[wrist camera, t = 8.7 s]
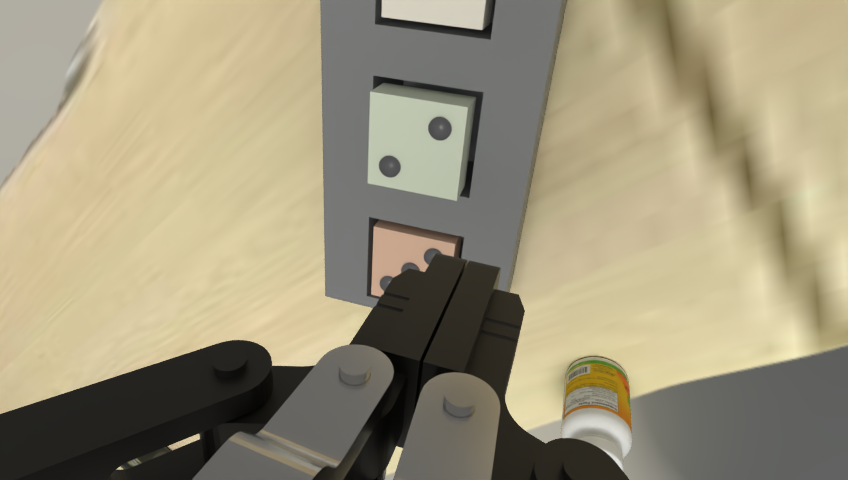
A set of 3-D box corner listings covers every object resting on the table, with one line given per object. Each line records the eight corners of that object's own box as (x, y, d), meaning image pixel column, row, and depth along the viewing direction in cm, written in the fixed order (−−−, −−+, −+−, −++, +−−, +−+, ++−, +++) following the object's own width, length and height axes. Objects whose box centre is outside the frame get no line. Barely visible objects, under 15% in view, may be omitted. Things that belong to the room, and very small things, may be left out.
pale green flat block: (479, 92, 34) (467, 108, 31) (468, 180, 37) (455, 202, 34) (389, 78, 35) (368, 92, 32) (385, 164, 38) (366, 184, 35)
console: (589, -114, 32) (585, -125, 26) (510, 288, 46) (497, 338, 41) (366, -130, 35) (318, -144, 29) (358, 253, 49) (325, 296, 43)
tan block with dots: (466, 221, 40) (454, 245, 37) (457, 287, 43) (445, 314, 40) (389, 206, 42) (372, 227, 38) (386, 271, 45) (370, 295, 41)
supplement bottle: (620, 407, 49) (624, 500, 41) (560, 393, 50) (552, 480, 42) (635, 362, 47) (642, 453, 38) (571, 348, 48) (565, 433, 40)
